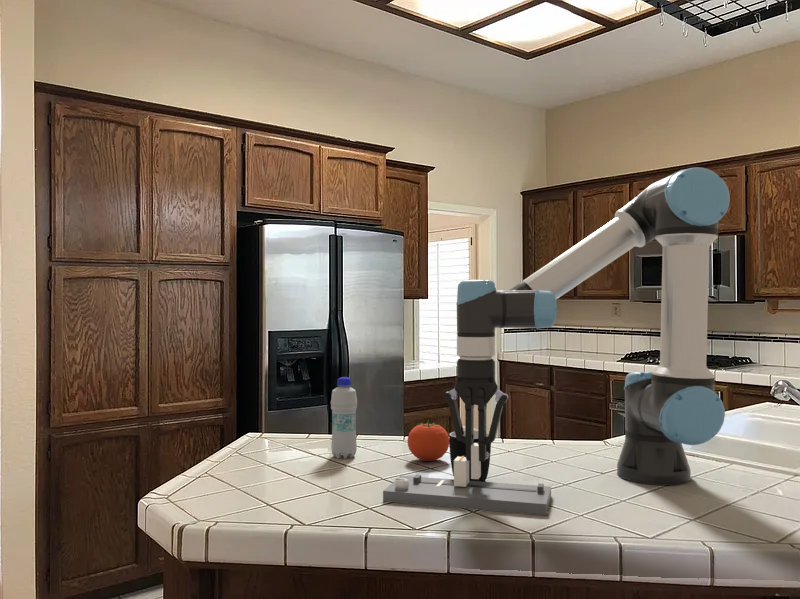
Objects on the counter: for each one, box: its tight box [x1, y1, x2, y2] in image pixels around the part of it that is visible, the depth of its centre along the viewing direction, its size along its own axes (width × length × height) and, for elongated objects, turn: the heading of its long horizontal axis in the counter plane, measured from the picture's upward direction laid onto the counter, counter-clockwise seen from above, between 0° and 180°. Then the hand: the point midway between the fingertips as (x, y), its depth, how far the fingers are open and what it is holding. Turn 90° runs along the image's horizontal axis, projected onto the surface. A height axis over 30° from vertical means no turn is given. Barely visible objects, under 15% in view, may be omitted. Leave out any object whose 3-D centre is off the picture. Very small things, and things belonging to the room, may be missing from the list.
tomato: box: [407, 419, 450, 462], centre depth 162 cm, size 10×10×10 cm
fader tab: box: [453, 456, 469, 487], centre depth 132 cm, size 2×4×5 cm, turn 163°
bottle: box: [330, 376, 358, 460], centre depth 166 cm, size 7×7×20 cm
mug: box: [448, 430, 492, 482], centre depth 144 cm, size 12×9×10 cm
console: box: [382, 474, 552, 516], centre depth 130 cm, size 31×12×4 cm, turn 73°
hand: (475, 477), depth 131 cm, fingers closed
